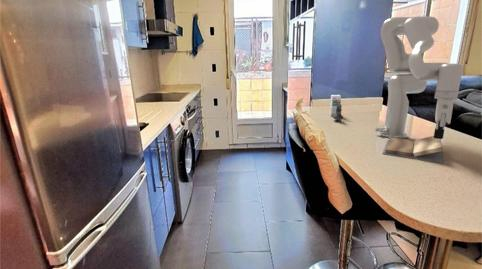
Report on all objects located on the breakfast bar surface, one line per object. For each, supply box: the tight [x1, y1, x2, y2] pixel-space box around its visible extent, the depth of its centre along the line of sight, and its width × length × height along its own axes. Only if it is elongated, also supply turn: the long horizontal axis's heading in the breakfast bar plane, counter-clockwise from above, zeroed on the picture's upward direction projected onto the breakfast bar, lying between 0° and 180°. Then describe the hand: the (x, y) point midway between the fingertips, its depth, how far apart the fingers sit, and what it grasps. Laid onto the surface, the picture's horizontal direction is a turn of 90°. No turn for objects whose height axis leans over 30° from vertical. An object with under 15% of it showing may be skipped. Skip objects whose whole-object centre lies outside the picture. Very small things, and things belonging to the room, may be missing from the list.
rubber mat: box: [382, 139, 445, 164], centre depth 125 cm, size 22×22×1 cm
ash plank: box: [413, 135, 444, 156], centre depth 121 cm, size 10×20×2 cm, turn 148°
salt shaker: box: [333, 103, 344, 123], centre depth 178 cm, size 6×6×12 cm
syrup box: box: [329, 94, 342, 118], centre depth 192 cm, size 6×6×14 cm
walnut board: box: [385, 138, 414, 157], centre depth 127 cm, size 10×20×2 cm, turn 148°
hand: (438, 138), depth 118 cm, fingers closed
